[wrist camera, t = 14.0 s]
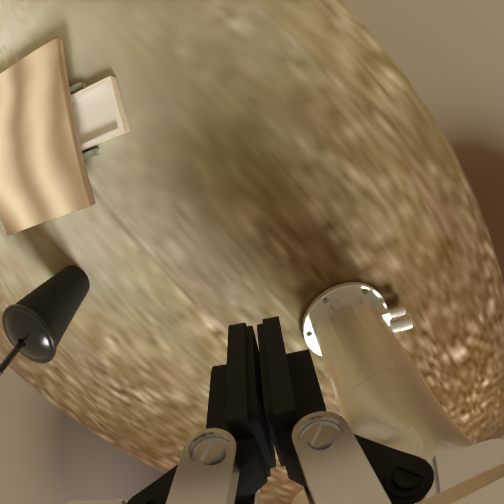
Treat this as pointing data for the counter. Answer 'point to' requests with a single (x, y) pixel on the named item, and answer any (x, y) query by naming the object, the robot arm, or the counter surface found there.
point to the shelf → (40, 142)
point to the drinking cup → (44, 316)
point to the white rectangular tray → (99, 113)
